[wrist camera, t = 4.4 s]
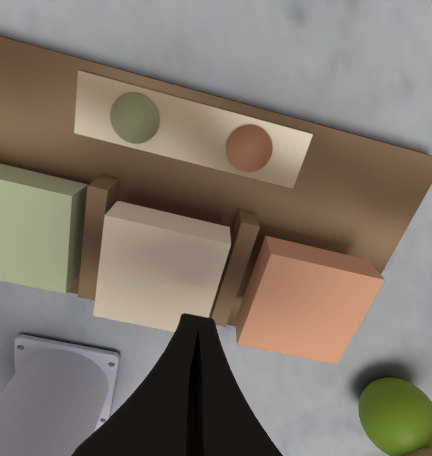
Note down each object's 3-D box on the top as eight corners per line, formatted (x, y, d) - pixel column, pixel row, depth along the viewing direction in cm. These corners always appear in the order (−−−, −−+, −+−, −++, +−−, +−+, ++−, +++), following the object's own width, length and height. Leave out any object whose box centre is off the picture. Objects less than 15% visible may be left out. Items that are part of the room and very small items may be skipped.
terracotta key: (326, 338, 20) (336, 364, 18) (235, 320, 19) (237, 344, 17) (367, 259, 17) (385, 280, 16) (265, 235, 17) (271, 253, 15)
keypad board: (332, 332, 24) (350, 370, 21) (-36, 255, 21) (-81, 285, 18) (427, 154, 18) (472, 168, 15) (-58, 19, 16) (-129, 2, 12)
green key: (80, 274, 19) (65, 294, 18) (-21, 253, 19) (-46, 271, 17) (87, 184, 17) (71, 196, 15) (-28, 157, 16) (-58, 165, 15)
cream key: (203, 313, 19) (202, 337, 17) (105, 293, 18) (93, 315, 17) (229, 227, 17) (231, 244, 15) (117, 200, 16) (104, 215, 14)
